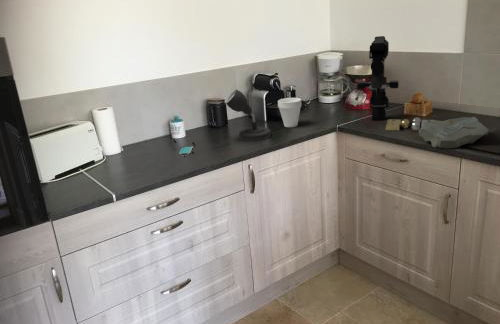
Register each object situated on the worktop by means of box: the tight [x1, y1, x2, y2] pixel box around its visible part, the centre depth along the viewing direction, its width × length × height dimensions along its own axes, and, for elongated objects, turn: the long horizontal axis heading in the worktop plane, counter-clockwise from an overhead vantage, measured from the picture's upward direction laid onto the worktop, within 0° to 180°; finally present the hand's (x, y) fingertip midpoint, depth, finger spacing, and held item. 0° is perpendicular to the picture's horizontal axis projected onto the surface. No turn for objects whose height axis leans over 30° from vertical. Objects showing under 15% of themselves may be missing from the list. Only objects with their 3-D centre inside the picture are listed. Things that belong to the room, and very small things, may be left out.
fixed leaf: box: [411, 117, 436, 132], centre depth 202 cm, size 10×11×4 cm
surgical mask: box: [172, 139, 196, 158], centre depth 200 cm, size 21×4×10 cm
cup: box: [277, 97, 302, 128], centre depth 225 cm, size 12×12×14 cm
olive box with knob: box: [385, 118, 410, 131], centre depth 206 cm, size 10×11×4 cm
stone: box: [418, 116, 490, 149], centre depth 180 cm, size 28×8×20 cm
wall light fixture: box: [225, 89, 272, 142], centre depth 209 cm, size 16×25×20 cm
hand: (377, 102), depth 207 cm, fingers closed
